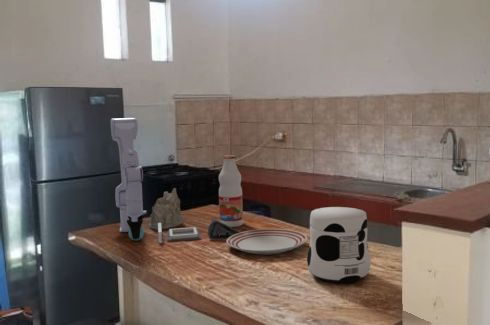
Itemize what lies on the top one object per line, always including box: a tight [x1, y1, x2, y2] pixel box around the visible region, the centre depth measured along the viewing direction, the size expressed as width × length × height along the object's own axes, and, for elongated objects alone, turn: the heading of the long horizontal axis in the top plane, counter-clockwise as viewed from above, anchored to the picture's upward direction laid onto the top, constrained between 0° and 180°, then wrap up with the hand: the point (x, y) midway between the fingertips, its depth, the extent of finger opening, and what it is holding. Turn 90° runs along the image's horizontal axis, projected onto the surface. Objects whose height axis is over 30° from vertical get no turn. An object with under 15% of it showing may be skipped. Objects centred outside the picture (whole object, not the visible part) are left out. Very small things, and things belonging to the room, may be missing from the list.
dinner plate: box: [226, 228, 308, 256], centre depth 167 cm, size 27×27×3 cm
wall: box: [157, 223, 163, 244], centre depth 181 cm, size 14×1×4 cm, turn 10°
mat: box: [166, 226, 202, 243], centre depth 183 cm, size 12×12×2 cm
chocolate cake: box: [207, 218, 241, 241], centre depth 181 cm, size 10×7×12 cm
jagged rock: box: [147, 187, 184, 230], centre depth 202 cm, size 16×16×15 cm
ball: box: [128, 226, 145, 242], centre depth 178 cm, size 6×6×6 cm
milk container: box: [306, 206, 371, 283], centre depth 136 cm, size 17×17×18 cm
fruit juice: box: [218, 154, 244, 228], centre depth 196 cm, size 9×9×28 cm
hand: (136, 236), depth 179 cm, fingers closed on ball, 5 cm apart
